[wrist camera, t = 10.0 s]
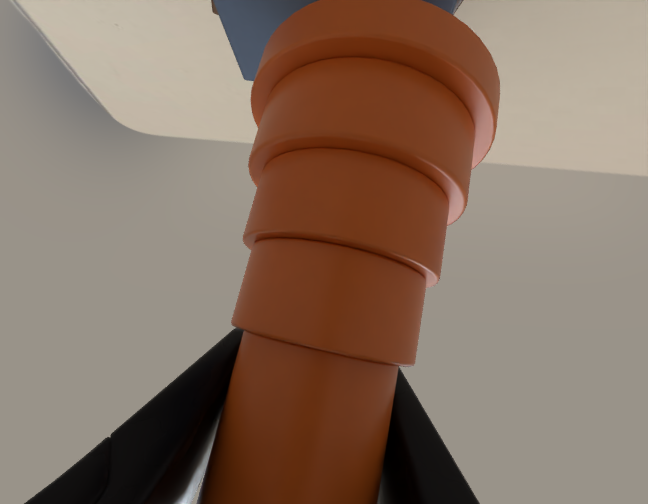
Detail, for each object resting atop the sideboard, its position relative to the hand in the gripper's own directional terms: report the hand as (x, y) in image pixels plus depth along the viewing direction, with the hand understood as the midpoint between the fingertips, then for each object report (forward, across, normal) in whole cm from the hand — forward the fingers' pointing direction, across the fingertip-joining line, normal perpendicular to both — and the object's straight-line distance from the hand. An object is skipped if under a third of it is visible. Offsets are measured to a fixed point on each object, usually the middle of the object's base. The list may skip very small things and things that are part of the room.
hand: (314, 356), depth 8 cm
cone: (+4, 0, -6) cm, 7 cm away
